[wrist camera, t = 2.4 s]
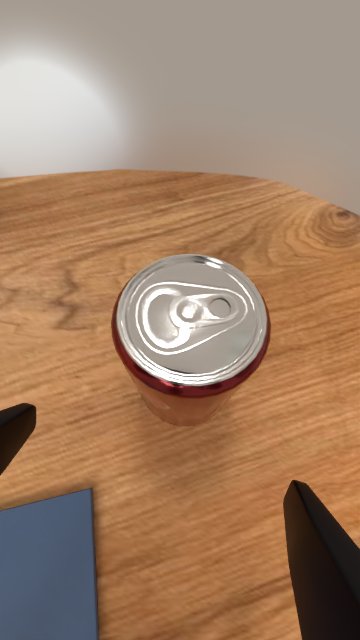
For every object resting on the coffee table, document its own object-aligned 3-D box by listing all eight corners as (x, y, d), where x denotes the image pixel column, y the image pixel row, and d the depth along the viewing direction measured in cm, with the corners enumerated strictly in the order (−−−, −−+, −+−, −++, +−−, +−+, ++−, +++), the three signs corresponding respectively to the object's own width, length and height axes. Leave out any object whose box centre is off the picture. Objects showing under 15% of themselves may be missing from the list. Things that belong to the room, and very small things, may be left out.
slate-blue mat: (102, 708, 13) (100, 717, 13) (-107, 782, 12) (-118, 793, 12) (92, 487, 18) (90, 488, 18) (-61, 525, 17) (-67, 527, 16)
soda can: (141, 431, 20) (101, 402, 9) (141, 344, 23) (111, 251, 13) (233, 423, 20) (297, 387, 10) (219, 339, 24) (255, 244, 13)
